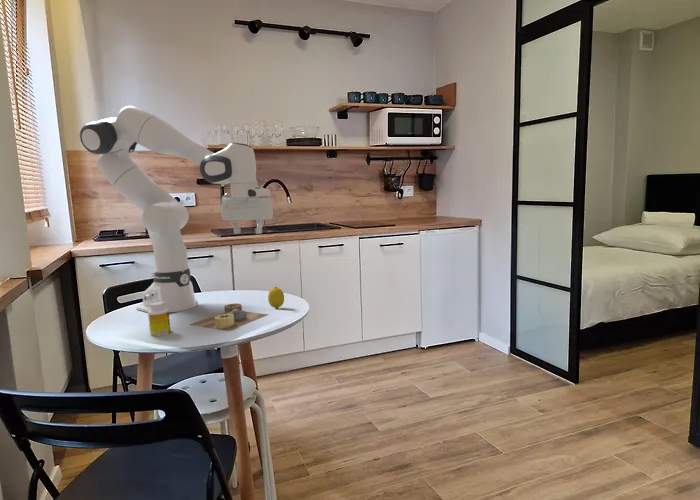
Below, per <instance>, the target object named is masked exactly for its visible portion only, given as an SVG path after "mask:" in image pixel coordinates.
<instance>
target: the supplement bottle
mask: <svg viewBox="0 0 700 500" xmlns="http://www.w3.org/2000/svg"><path fill="white" fill-rule="evenodd" d="M150 308H151V310H149V311H148V312H147V315H148V326H149V327H148V328H149V333H150V336H152V337H160V336H161V337H163V336H165V335H166V336H167V335H169V334H170V333H171V332H172V331H171V320H170V313H169V311H168V309H167V308H165V302H162V301H160V302H154V303H151V304H150Z"/></svg>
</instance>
